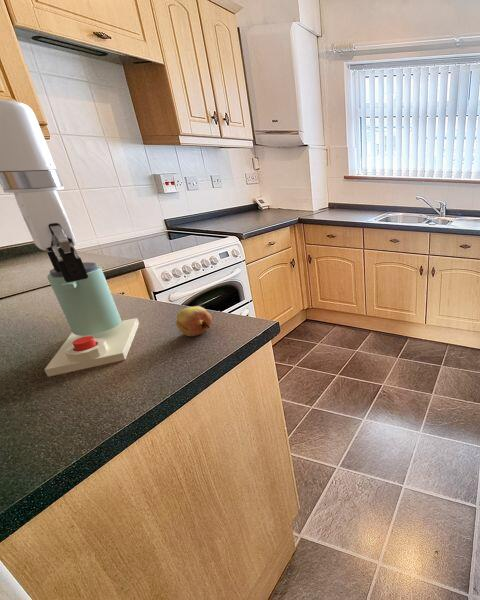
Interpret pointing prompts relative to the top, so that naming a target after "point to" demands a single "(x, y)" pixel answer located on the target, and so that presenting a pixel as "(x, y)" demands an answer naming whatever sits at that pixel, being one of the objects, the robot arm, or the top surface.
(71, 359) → the kettle base
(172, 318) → the top surface
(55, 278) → the kettle
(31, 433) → the top surface
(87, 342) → the switch
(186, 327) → the fruit
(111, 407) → the top surface
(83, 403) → the top surface
